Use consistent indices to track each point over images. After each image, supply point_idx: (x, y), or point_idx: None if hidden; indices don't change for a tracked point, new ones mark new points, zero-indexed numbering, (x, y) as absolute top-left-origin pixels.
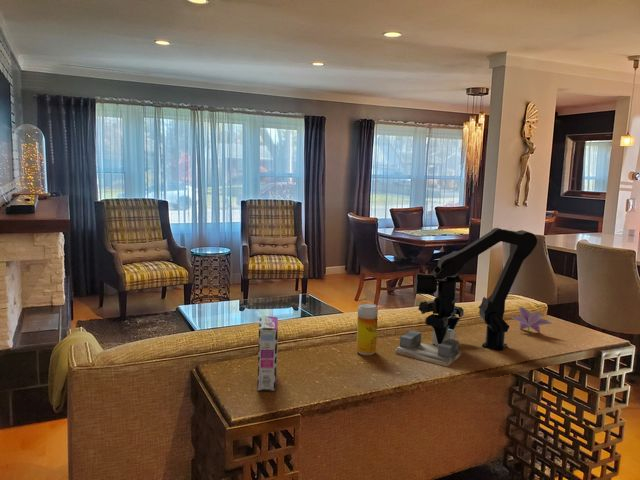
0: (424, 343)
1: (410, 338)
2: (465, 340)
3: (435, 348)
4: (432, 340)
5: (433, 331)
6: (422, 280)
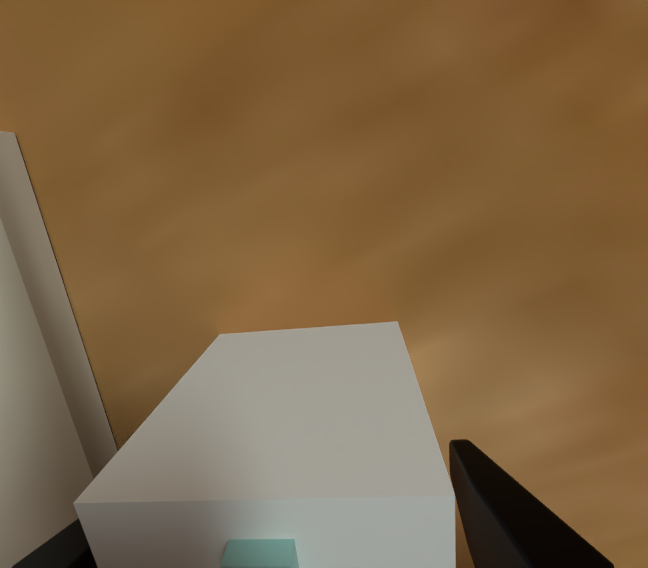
0: (32, 324)
1: None
2: (641, 548)
3: (18, 487)
4: (199, 360)
5: (109, 481)
6: None
